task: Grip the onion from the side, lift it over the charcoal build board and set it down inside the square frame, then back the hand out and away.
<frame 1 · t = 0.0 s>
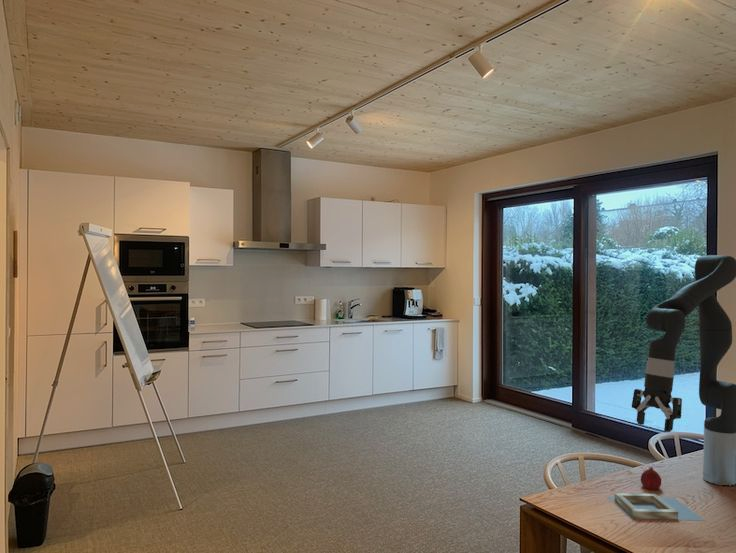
hand: (653, 427, 163), 22 cm above the table, tool pointing down, fingers open, 8 cm apart
square frame: (645, 509, 155), resting on build board
build board: (653, 513, 156), on the table
onion: (650, 492, 171), on the table
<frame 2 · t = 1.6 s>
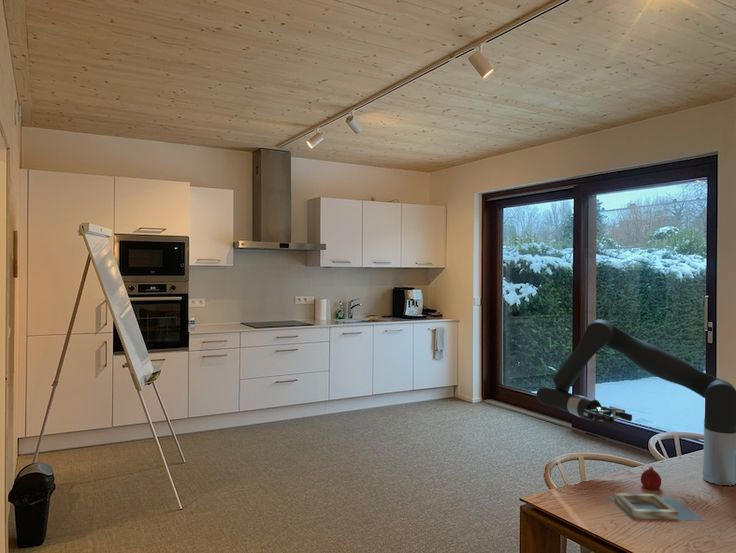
hand: (622, 419, 181), 20 cm above the table, tool horizontal, fingers open, 8 cm apart
nothing on the table moved.
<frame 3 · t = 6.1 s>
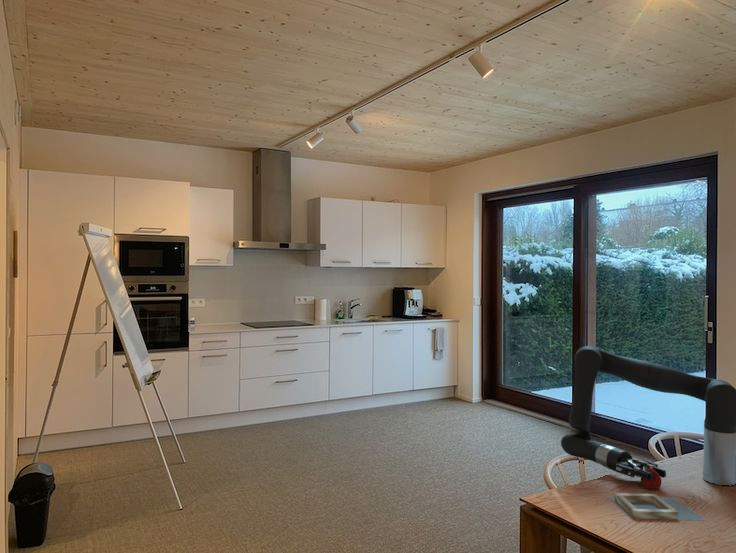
hand: (658, 475, 169), 6 cm above the table, tool horizontal, fingers closed on onion, 5 cm apart
onion: (650, 492, 171), on the table, touching gripper
when the fingers open (9 cm above the table, at t = 11.5 s): onion stays where it is, resting on build board.
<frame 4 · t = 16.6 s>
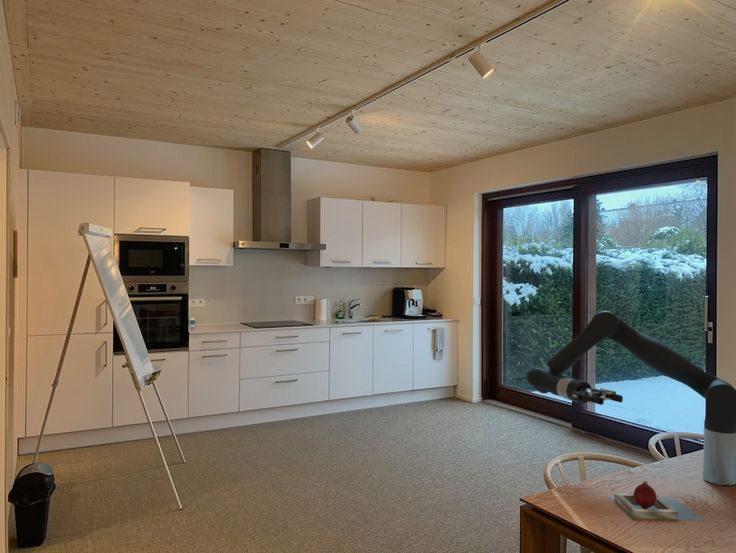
hand: (612, 400, 174), 28 cm above the table, tool horizontal, fingers open, 8 cm apart
onion: (644, 509, 155), point 1 cm above the table, touching build board
at the end: onion 0.1 cm off-centre on the square frame, point 0.0 cm above the square frame's base; the gripper is holding nothing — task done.
